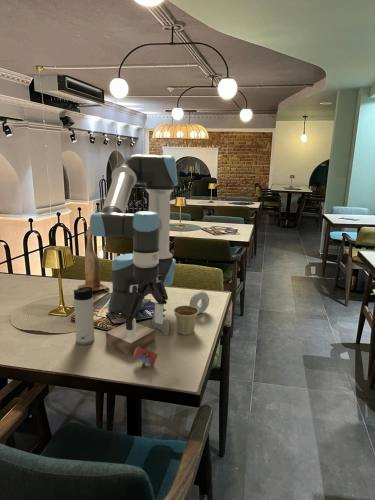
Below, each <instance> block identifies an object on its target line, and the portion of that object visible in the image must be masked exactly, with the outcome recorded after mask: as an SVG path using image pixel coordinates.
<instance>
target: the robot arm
mask: <svg viewBox="0 0 375 500" xmlns="http://www.w3.org/2000/svg"><path fill="white" fill-rule="evenodd" d="M178 183H179V182H178V172H177V162H176V158H175V157H174V156H173V155H168V154H139V153H137V154H132V155H128V156H127V157H125V158H123V159H122V160H120V161H119V162H118V163H117V164H116V166H115V167H114V168H113V169H112V173H111V183H110V187H109V188H108V192H107V194H106V197H105V200H104V203H103V205H102V209H101V211H98V212H93V213H91V215H90V217H89V227H90V231H91V233H92V235H93V236H94V237H103V238H132V239H133V240H132V241H133V243H132V244H133V249H132V253H126V254H125V253H124V254H121V255H117V256H116V257H114V258H113V259H112V262H111V278H112V280H111V281H112V282H111V283H112V285H111V286H112V291H111V295H110V297H109V301H108V309H109V311H111V313H114V312H116V313H115V314H118V313H121V314H120V319H122V320H125V323H126V329H127V338H128V339H131V340H136V323H137V321H136V318H135V316H136V314H137V313H138V312H137V311H139V312H141V311H142V310H144V308H145V300H144V299H145V298H146V296H148V295H151V296H152V297H153V299H154V300H155V301H156V302H155V303H154V313H155V322H156V323H159V324H163V319H164V305H167V303H168V299H169V296H168V293H167V290H166V287H170V286H171V285H173V283H174V282H173V280H174V277H175V276H174V274H175V270H176V269H175V268H176V263H177V261H176V259H175V258H173V254H172V253H171V252H170V226H171V225H170V222H171V221H170V220H171V219H170V218H171V193H172V192H174V190H175V187H176V186H178V185H179V184H178ZM135 185H144V187H145V188H144V190H145V191H146V192H147V193H148V210H143V211H136V212H135V213H127V212H126V211H127V207H128V204H129V199H130V196H131V192H132V189H133V188H134V186H135ZM143 307H144V308H143ZM141 309H142V310H141ZM140 310H141V311H140ZM136 312H137V313H136Z"/></svg>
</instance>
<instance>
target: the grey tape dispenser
mask: <svg viewBox="0 0 375 500" xmlns="http://www.w3.org/2000/svg"><path fill="white" fill-rule="evenodd" d="M169 321H170V320H168V319H164V318H163V324H159V323H156V322H155V312H153V313H152V320H151V324H152V326H153V327H154V328H155V329H157V330H160V331H162V333H163V334H164V335H166V336H167V335H169V324H170V323H169Z"/></svg>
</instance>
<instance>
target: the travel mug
mask: <svg viewBox="0 0 375 500" xmlns="http://www.w3.org/2000/svg"><path fill="white" fill-rule="evenodd" d="M93 292H94V291H92V288H91V287H82V288H80V289H78V288H77V289H74V290H73V299H74V300H73V301H74V302H73V303H74V305H73V306H74V321H75V322H74V325H75V326H74V327H75V328H74V329H75V343H76V344H78V345H80V346H87V345H91V344H92V343H94V341H95V320H94V318H95V317H94V296H93Z"/></svg>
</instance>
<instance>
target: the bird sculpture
mask: <svg viewBox="0 0 375 500" xmlns="http://www.w3.org/2000/svg"><path fill="white" fill-rule="evenodd" d="M93 236H94V235H92V233H91V231H90V226H88V228H87V229H86V231H85V237H87V241H86V249H85V256H84V257H85V258H84V278H85V282H84V284H80V285H78V287H77V289H80V288H82V287H91V288H92V292H96V291H100V290H102V289H104V290H106V291H110V287H108V286H105V285H104V284H101V267H100V259H99V256H98V255H97V253H96V252H95V250H94V241H93V240H94V237H93Z"/></svg>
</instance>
